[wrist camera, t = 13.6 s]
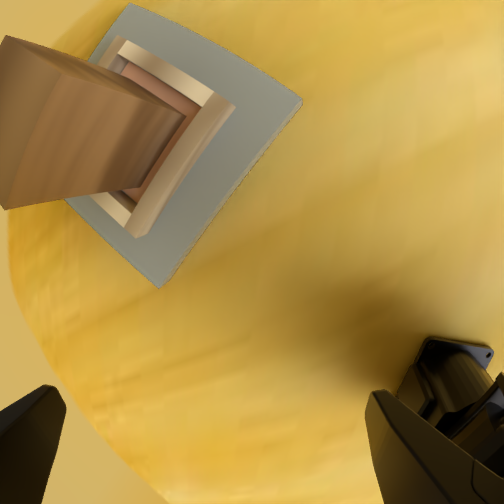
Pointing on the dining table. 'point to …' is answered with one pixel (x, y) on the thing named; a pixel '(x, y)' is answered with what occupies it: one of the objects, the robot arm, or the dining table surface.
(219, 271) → the dining table surface
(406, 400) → the robot arm
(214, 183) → the grey square framed tray
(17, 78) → the walnut block
